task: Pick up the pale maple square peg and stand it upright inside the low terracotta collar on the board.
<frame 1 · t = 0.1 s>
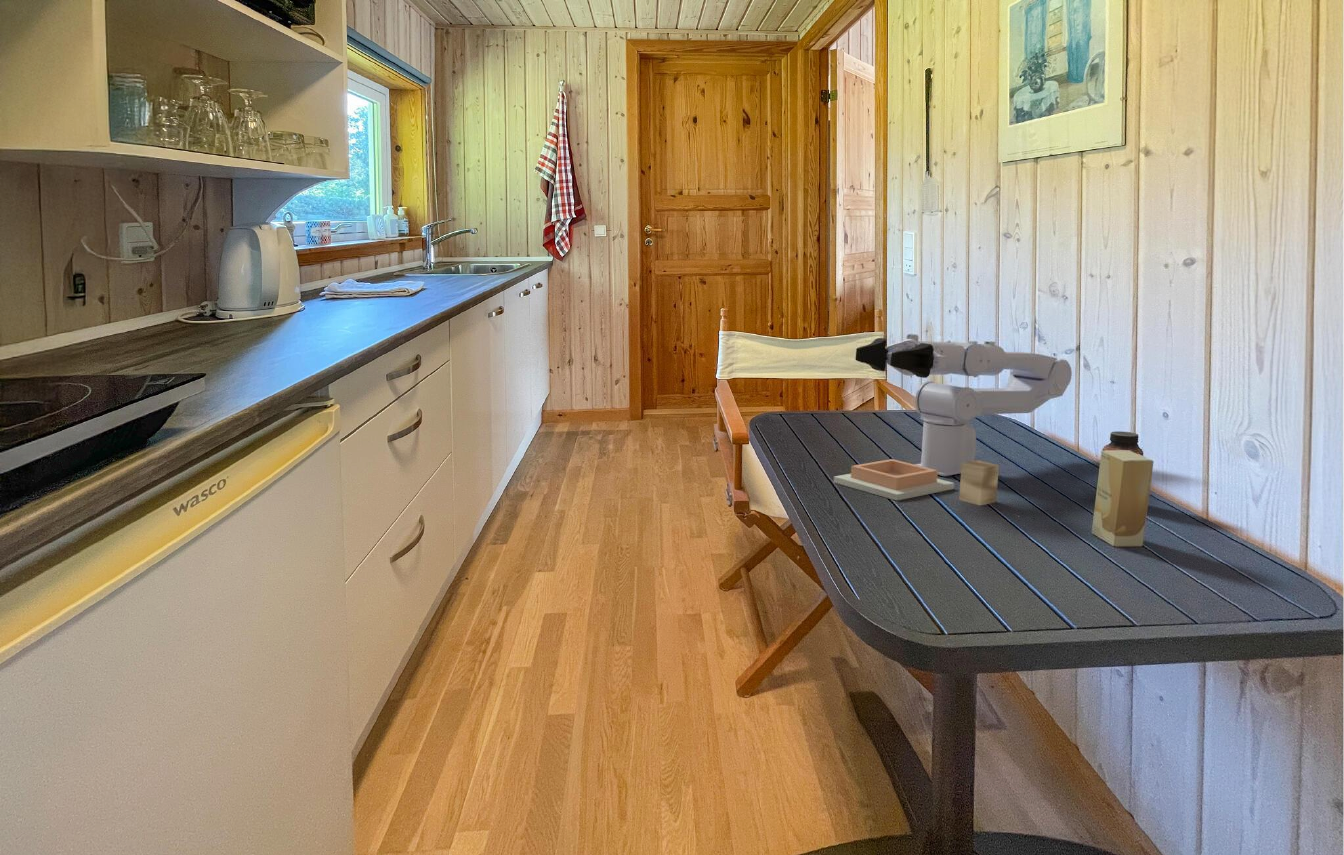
hand: (874, 356, 159), 22 cm above the table, tool horizontal, fingers open, 7 cm apart
maple peg: (977, 501, 153), on the table
skincare box: (1116, 541, 134), on the table
collar board: (893, 485, 162), on the table
supplement bottle: (1117, 504, 153), on the table
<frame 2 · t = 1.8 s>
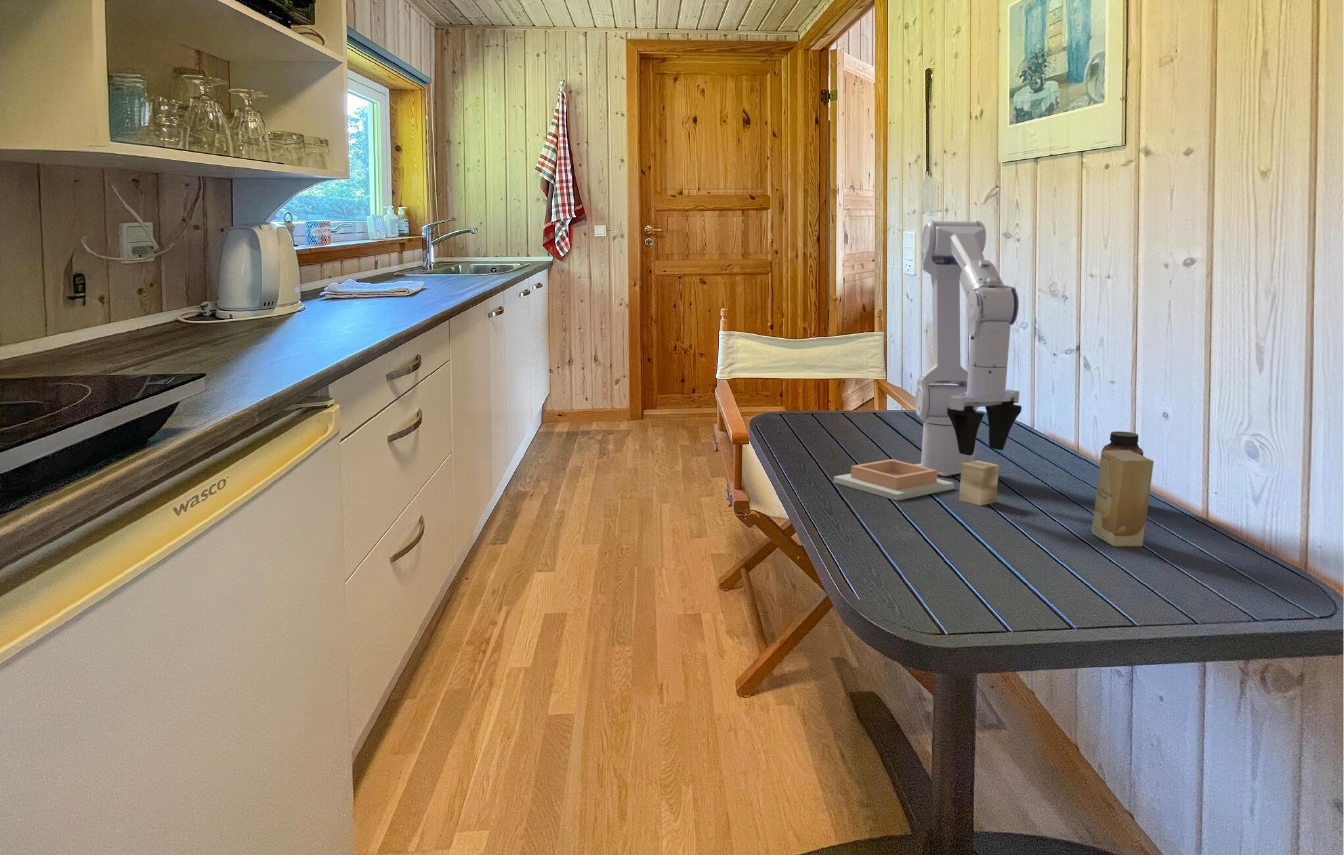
hand: (981, 451, 152), 8 cm above the table, tool pointing down, fingers open, 7 cm apart
nothing on the table moved.
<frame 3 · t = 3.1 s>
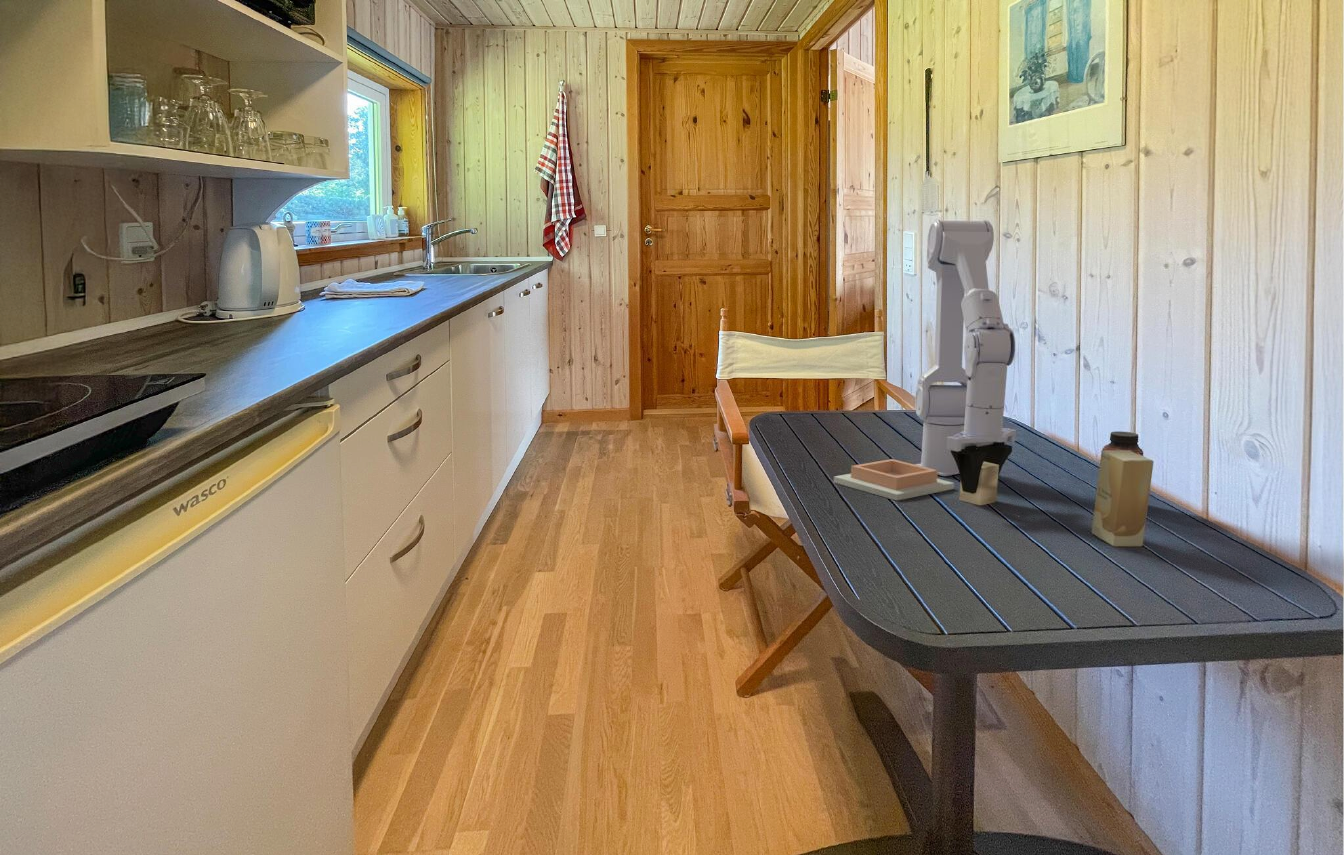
hand: (978, 490, 153), 2 cm above the table, tool pointing down, fingers closed on maple peg, 4 cm apart
maple peg: (977, 500, 153), on the table, touching gripper
everything else where it was.
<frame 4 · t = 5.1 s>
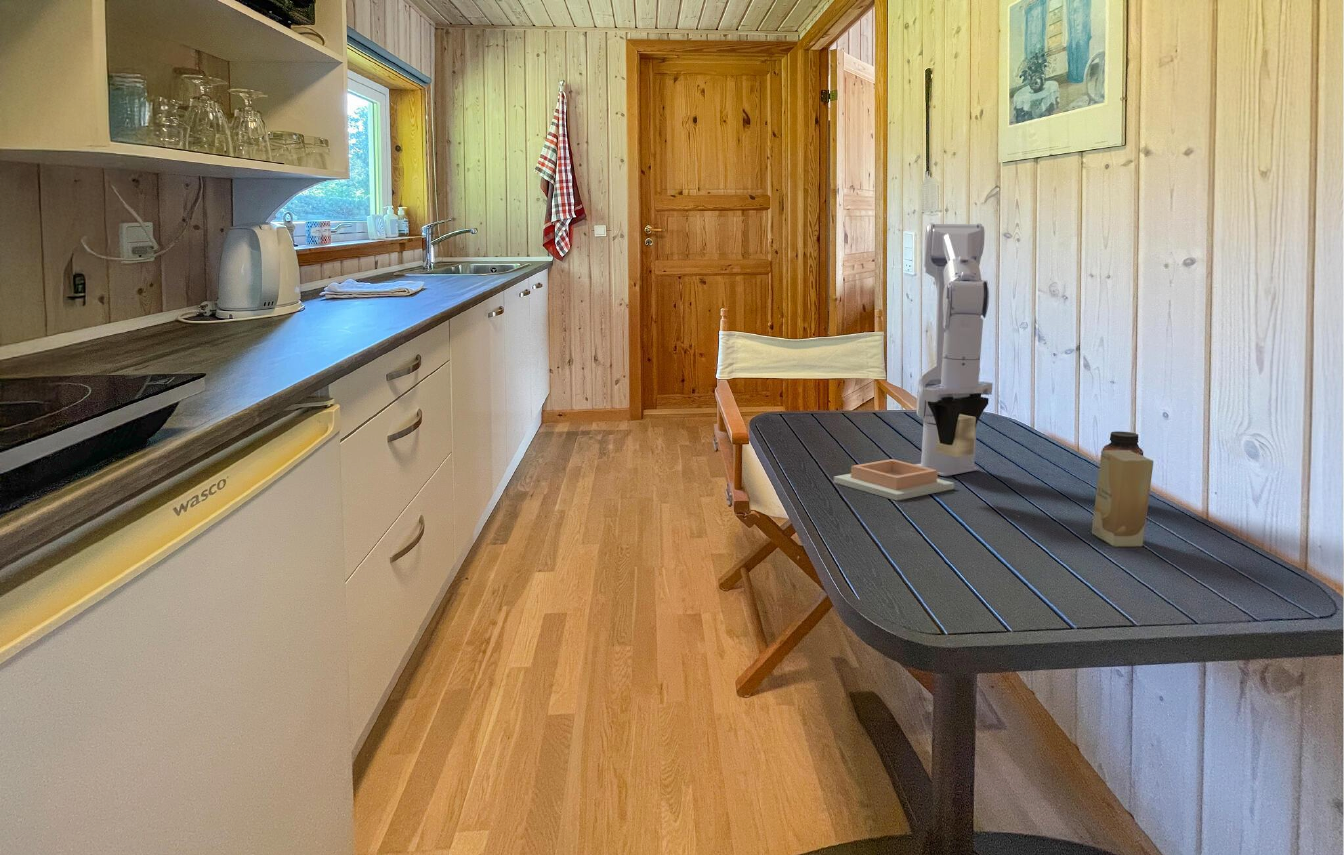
hand: (955, 442, 154), 9 cm above the table, tool pointing down, fingers closed on maple peg, 4 cm apart
maple peg: (954, 453, 155), point 7 cm above the table, touching gripper
everything else where it was.
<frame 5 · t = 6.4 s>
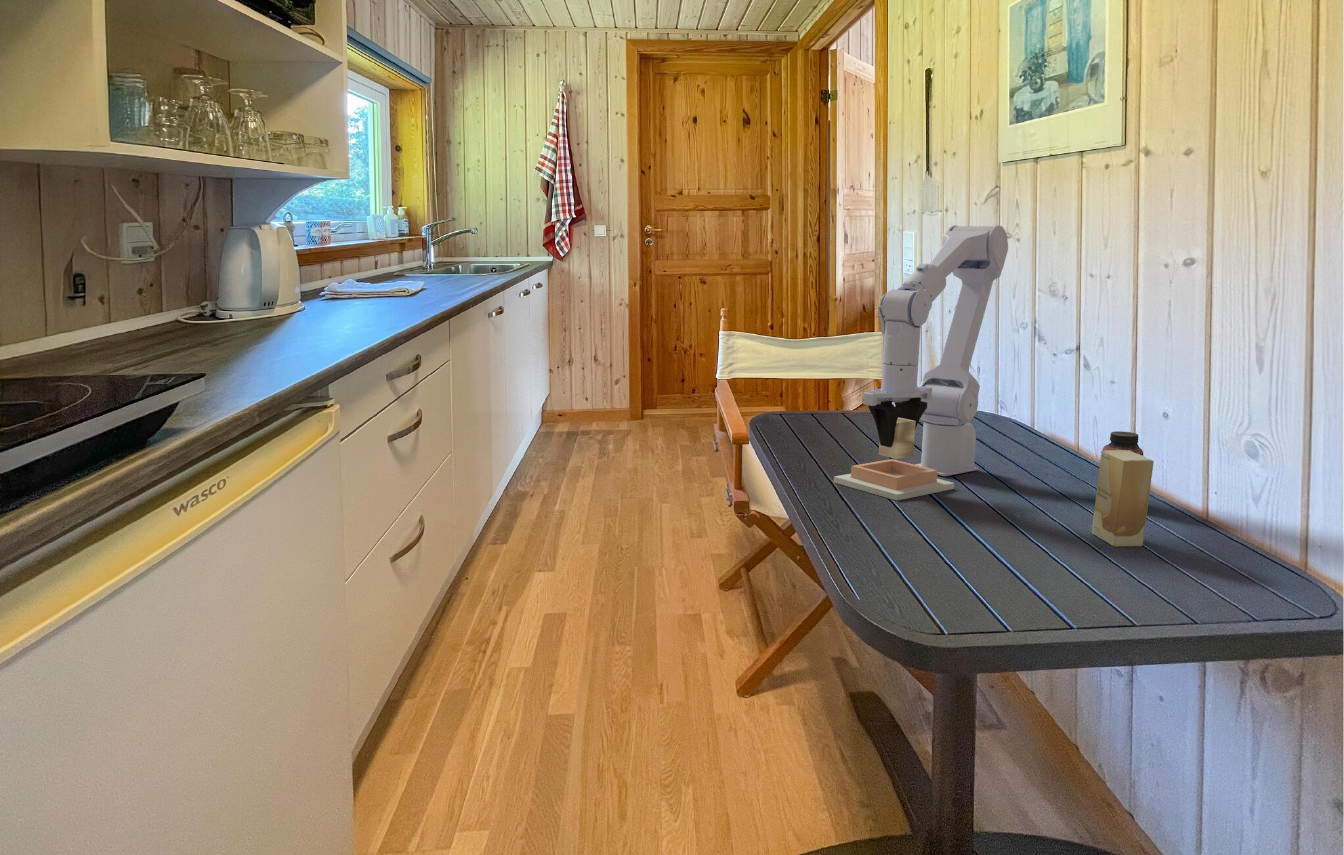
hand: (895, 444, 161), 7 cm above the table, tool pointing down, fingers closed on maple peg, 4 cm apart
maple peg: (895, 455, 161), point 5 cm above the table, touching gripper
everything else where it was.
when the fingers open (4 cm above the table, at t = 7.5 s): maple peg stays where it is, resting on collar board.
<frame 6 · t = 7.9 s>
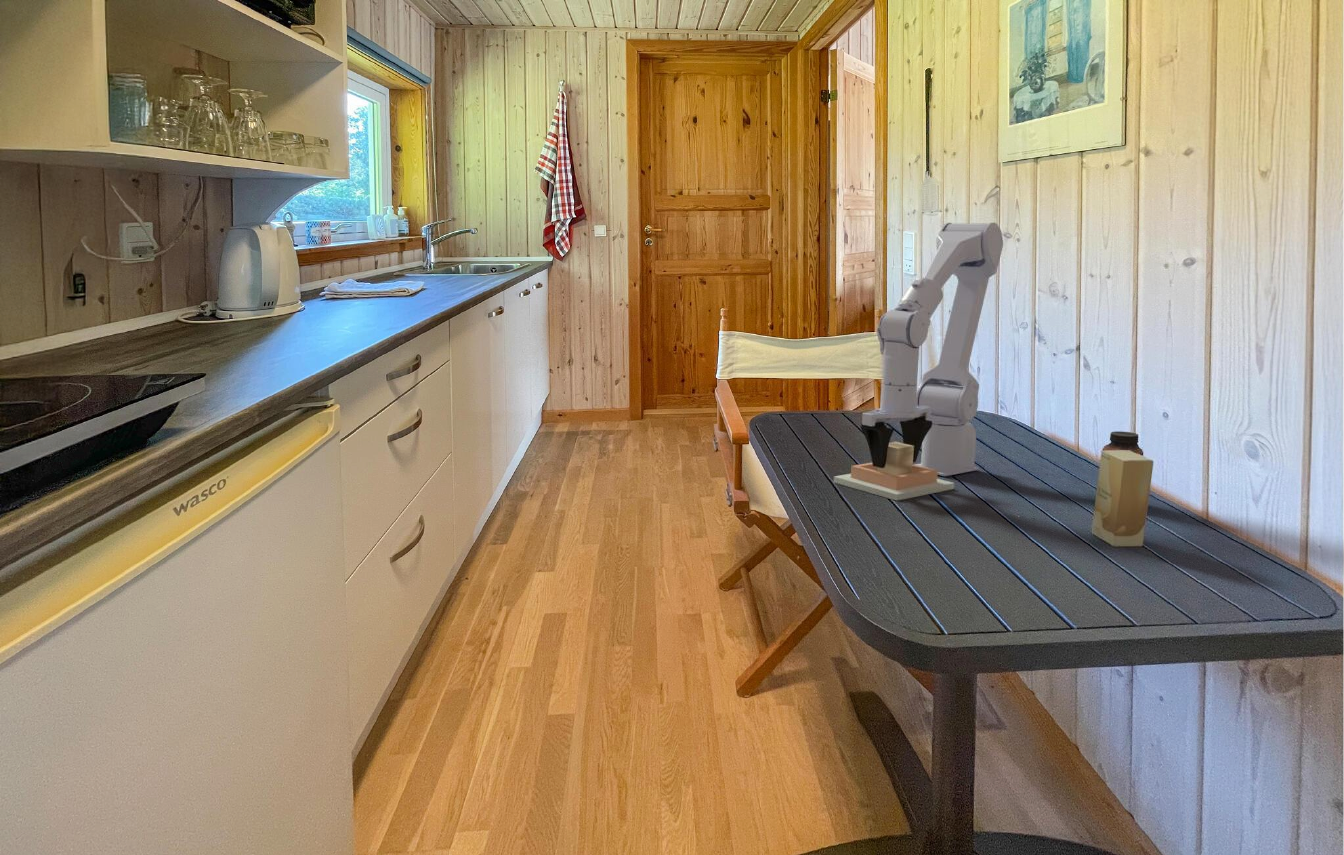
hand: (894, 464, 161), 4 cm above the table, tool pointing down, fingers open, 7 cm apart
maple peg: (894, 480, 162), point 1 cm above the table, touching collar board
everything else where it was.
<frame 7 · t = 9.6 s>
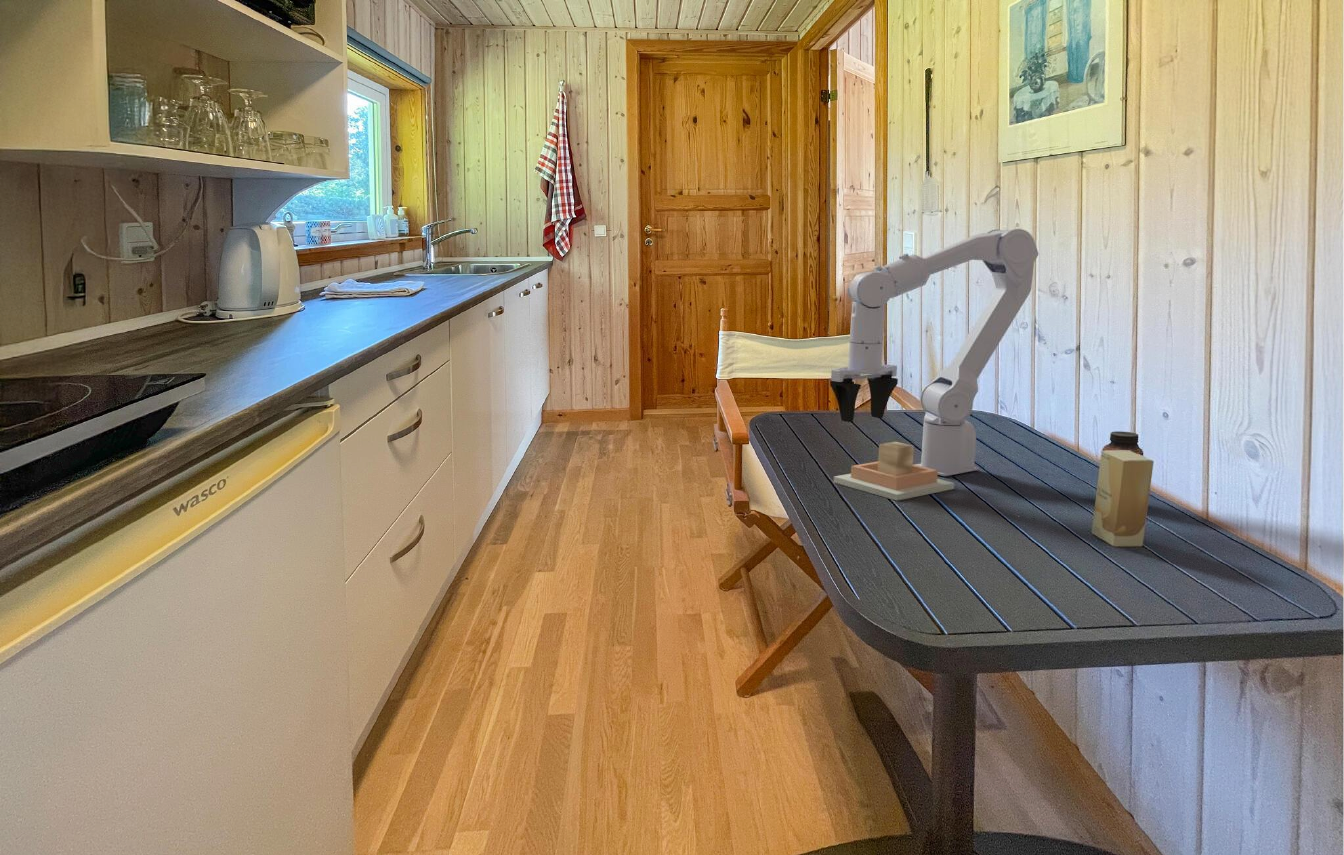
hand: (862, 419, 170), 9 cm above the table, tool pointing down, fingers open, 7 cm apart
nothing on the table moved.
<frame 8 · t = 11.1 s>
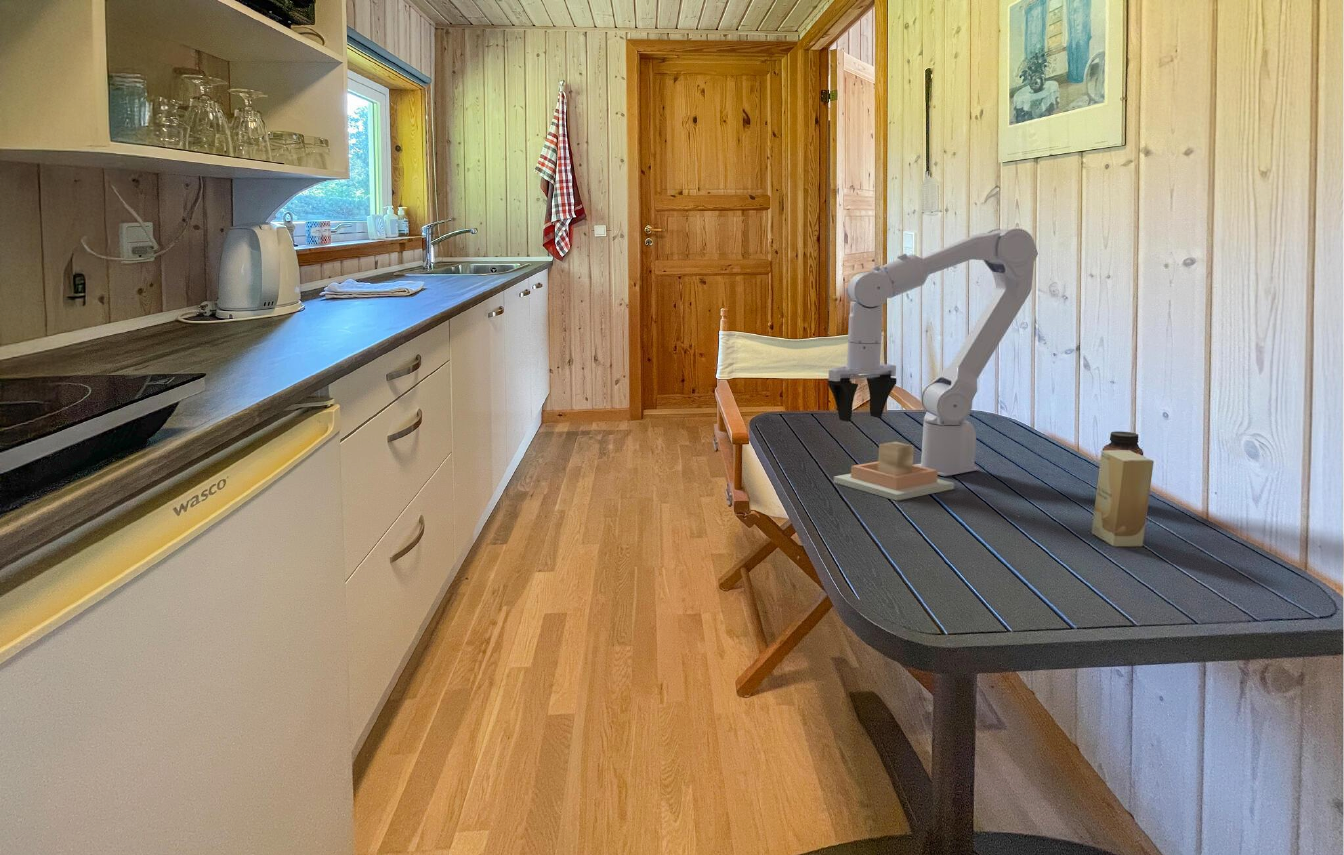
hand: (860, 418, 171), 9 cm above the table, tool pointing down, fingers open, 7 cm apart
nothing on the table moved.
at the end: maple peg 0.2 cm off-centre on the collar board, point 1.0 cm above the collar board's base; maple peg tilted 0°; the gripper is holding nothing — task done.
